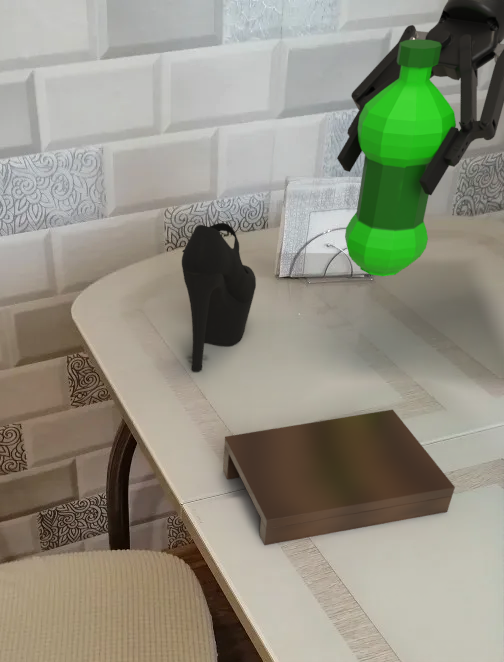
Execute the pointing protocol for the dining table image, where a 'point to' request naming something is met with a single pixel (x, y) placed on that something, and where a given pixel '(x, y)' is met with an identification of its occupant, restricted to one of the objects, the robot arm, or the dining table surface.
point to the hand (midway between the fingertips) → (382, 176)
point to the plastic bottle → (398, 163)
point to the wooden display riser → (336, 475)
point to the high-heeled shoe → (216, 289)
